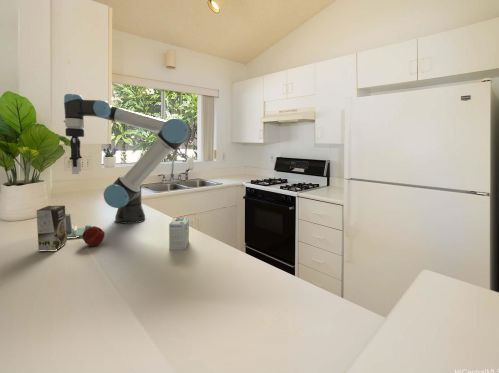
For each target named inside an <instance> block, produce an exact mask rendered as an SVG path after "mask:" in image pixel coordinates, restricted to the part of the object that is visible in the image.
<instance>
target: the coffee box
mask: <svg viewBox="0 0 499 373" xmlns="http://www.w3.org/2000/svg"><path fill="white" fill-rule="evenodd" d="M35 211H36V222H37V223H36V224H37V225H36V226H37V244H38V245H37V246H38V251H39V250H56V249H58V248H59V247H61V246H62V245H63V244H65V243H66V242H68V241H67V240H68V239H67V237H66V217H65V213H66V206H65V205H47V206H44V207H42V208H39V209H37V210H35Z"/></svg>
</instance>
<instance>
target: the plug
mask: <svg viewBox="0 0 499 373" xmlns="http://www.w3.org/2000/svg"><path fill="white" fill-rule="evenodd" d="M65 217H66V234H68V233H72V229H73V227H72V226H73V225H72V224H73V222H72V214H71V213H66V212H65Z"/></svg>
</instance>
